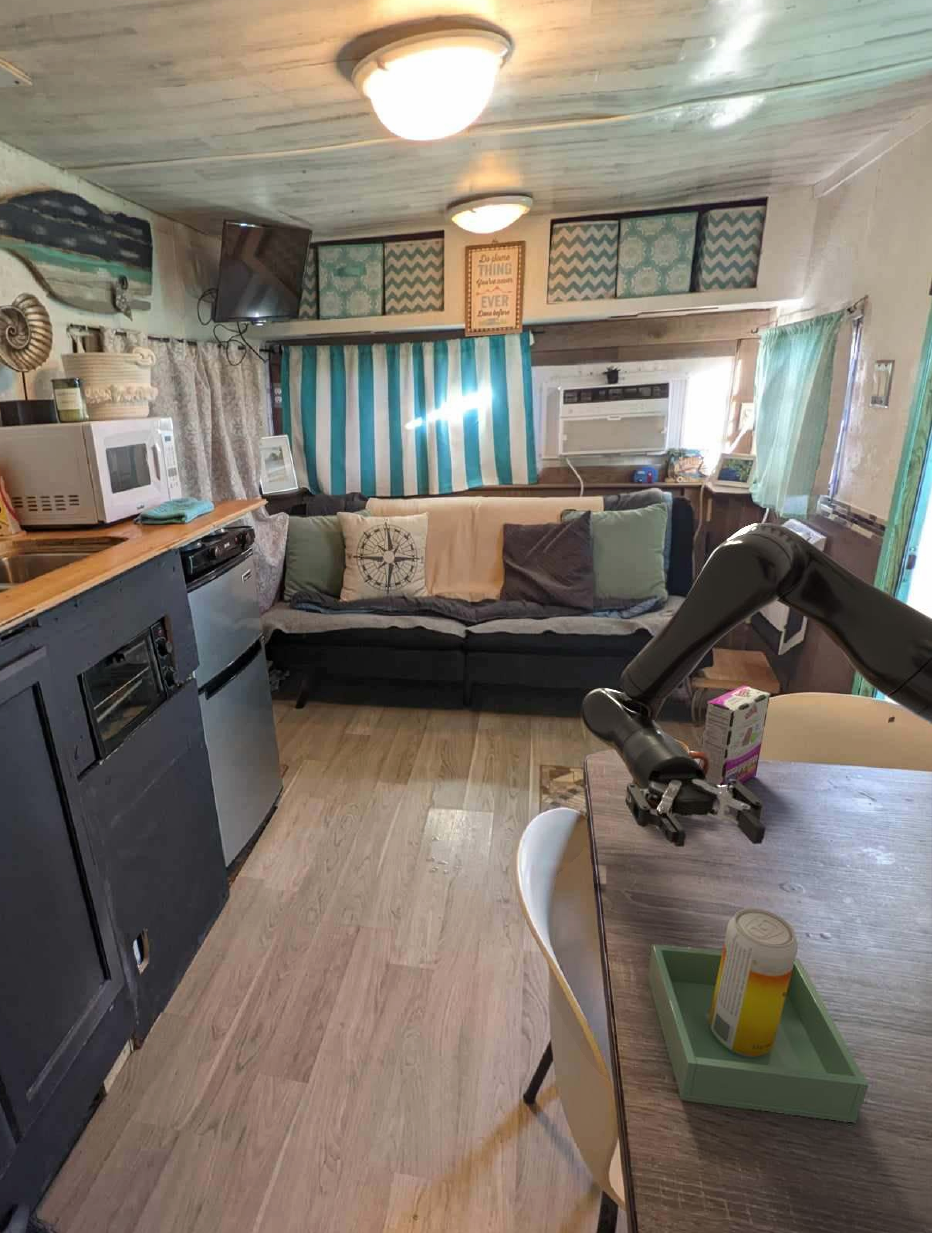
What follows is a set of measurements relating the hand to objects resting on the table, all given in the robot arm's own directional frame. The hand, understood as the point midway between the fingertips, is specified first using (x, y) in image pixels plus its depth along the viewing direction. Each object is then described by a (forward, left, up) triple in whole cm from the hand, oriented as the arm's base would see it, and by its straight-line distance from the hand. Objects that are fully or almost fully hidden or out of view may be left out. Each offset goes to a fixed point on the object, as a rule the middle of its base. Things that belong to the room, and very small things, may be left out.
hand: (720, 838), depth 76 cm
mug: (-5, -38, -19) cm, 43 cm away
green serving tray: (-2, +10, -19) cm, 22 cm away
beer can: (-2, +10, -19) cm, 21 cm away
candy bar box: (-17, -46, -19) cm, 53 cm away
